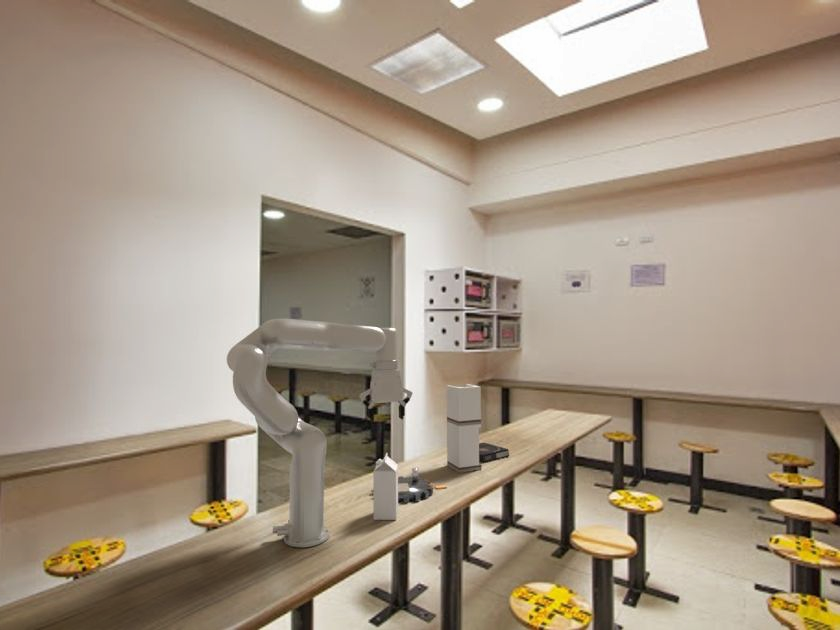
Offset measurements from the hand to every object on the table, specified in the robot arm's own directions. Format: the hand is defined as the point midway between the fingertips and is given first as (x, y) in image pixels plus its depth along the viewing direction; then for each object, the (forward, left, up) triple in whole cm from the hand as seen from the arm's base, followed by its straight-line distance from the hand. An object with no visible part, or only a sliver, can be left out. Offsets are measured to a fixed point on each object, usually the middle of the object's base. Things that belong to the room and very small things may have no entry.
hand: (386, 419), depth 145 cm
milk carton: (0, 0, -31) cm, 31 cm away
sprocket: (+11, +19, -30) cm, 37 cm away
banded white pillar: (+44, +40, -31) cm, 67 cm away
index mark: (+25, +19, -30) cm, 44 cm away
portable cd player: (+60, +54, -31) cm, 86 cm away
